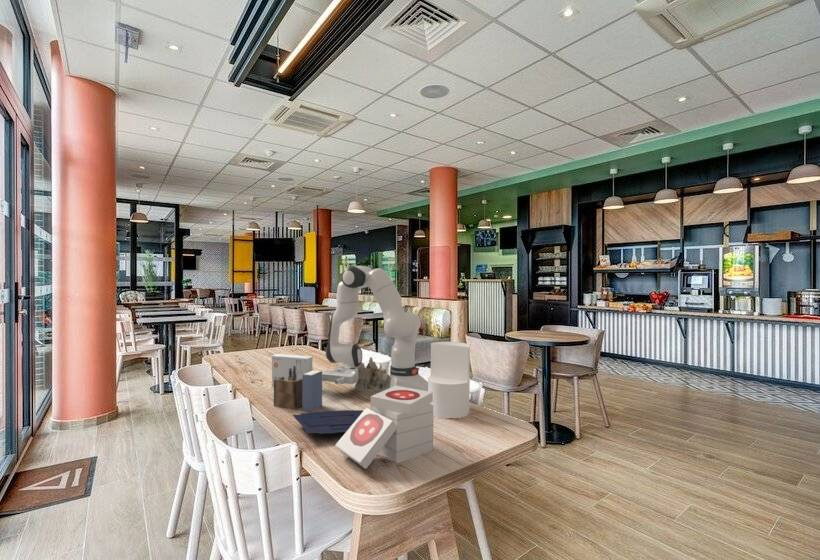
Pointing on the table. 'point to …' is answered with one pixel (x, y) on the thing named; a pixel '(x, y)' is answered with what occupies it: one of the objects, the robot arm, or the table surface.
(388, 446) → the pizza boxes
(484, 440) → the table surface
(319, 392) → the tall blue pillar
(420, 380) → the robot arm
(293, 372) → the skincare box
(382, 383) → the grey rock
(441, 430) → the table surface
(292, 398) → the shelf
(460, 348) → the cylinder
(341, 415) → the navy flat slab
